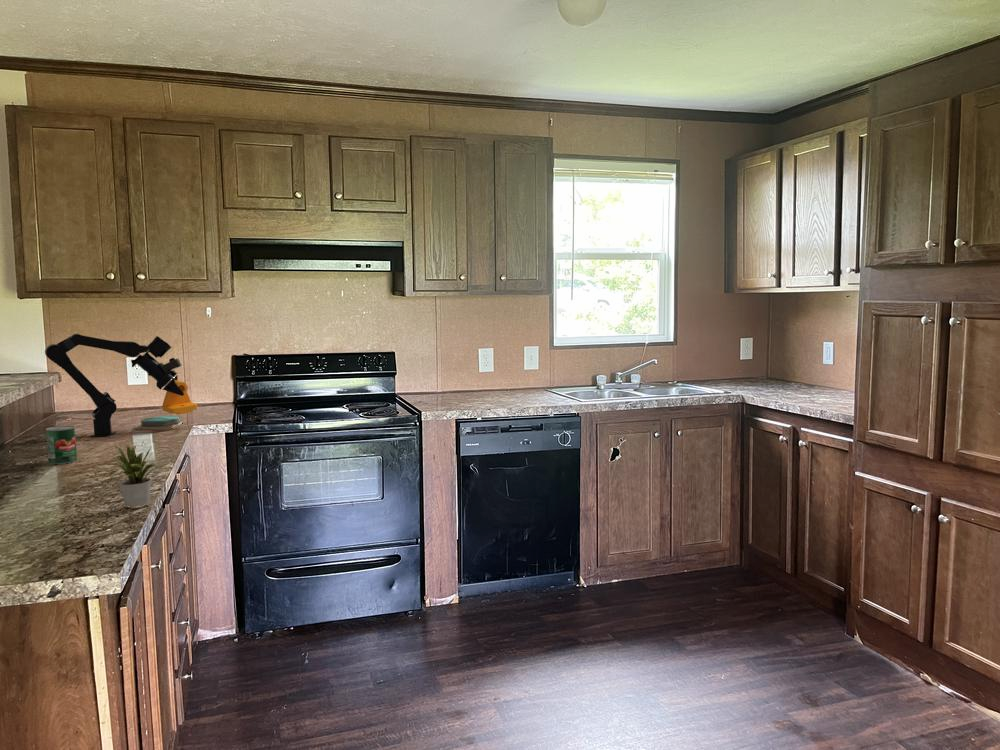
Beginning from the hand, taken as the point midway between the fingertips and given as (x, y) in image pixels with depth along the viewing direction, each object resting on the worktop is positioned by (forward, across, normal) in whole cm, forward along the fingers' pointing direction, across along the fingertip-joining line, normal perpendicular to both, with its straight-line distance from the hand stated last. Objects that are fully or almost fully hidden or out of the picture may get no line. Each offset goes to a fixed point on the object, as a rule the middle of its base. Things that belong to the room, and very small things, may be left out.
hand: (184, 394), depth 292 cm
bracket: (+4, 0, +6) cm, 7 cm away
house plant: (+8, -114, +12) cm, 115 cm away
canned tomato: (-12, -51, +32) cm, 61 cm away
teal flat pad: (+3, +7, +16) cm, 18 cm away
